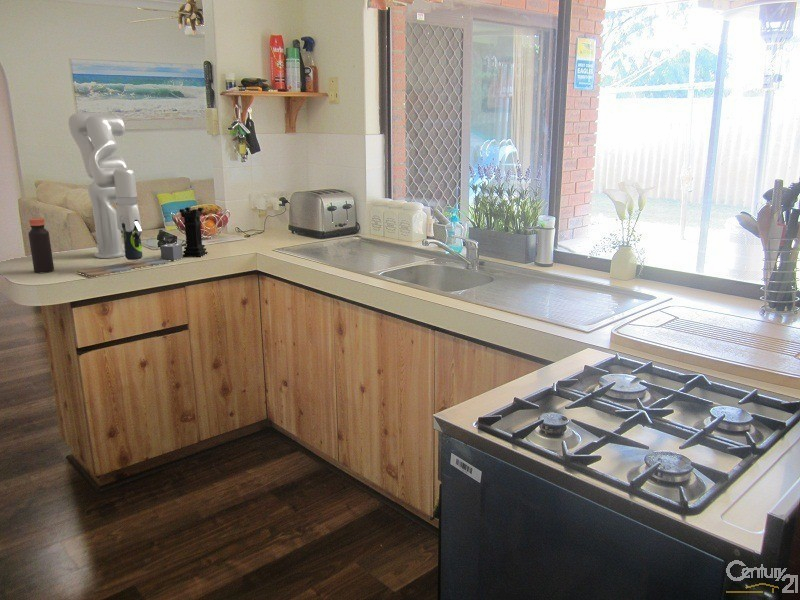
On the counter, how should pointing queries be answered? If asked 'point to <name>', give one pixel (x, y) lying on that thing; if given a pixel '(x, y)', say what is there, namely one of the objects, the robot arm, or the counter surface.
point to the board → (122, 267)
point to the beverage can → (130, 250)
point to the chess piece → (193, 232)
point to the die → (171, 251)
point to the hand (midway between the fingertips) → (132, 247)
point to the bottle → (40, 246)
